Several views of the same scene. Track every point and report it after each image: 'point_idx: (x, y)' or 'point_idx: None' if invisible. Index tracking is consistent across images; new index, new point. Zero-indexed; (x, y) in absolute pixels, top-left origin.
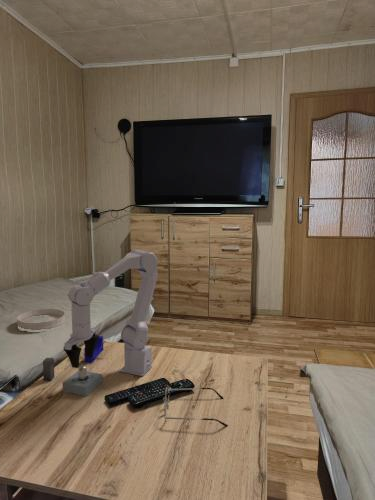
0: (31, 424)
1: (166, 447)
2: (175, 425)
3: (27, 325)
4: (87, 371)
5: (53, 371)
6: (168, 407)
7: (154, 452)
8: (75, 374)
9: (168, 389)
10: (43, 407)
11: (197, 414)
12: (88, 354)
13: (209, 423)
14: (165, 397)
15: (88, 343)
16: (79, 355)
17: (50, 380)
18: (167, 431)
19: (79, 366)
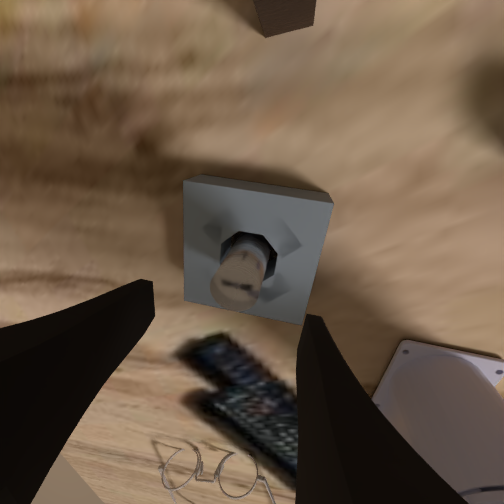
0: (13, 187)
1: (120, 447)
2: (175, 459)
3: None
4: (317, 253)
5: (304, 5)
6: (201, 468)
7: (102, 435)
8: (272, 206)
9: (254, 485)
10: (86, 166)
11: (219, 487)
12: (302, 345)
13: (201, 495)
14: (211, 482)
15: (312, 456)
16: (84, 407)
17: (264, 33)
18: (154, 449)
19: (231, 274)
